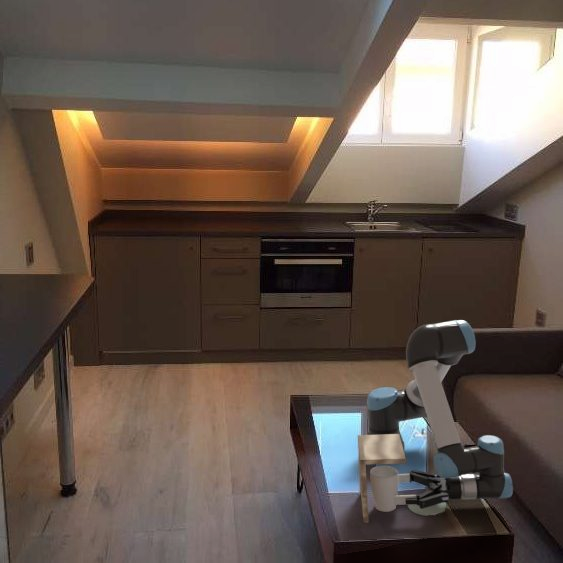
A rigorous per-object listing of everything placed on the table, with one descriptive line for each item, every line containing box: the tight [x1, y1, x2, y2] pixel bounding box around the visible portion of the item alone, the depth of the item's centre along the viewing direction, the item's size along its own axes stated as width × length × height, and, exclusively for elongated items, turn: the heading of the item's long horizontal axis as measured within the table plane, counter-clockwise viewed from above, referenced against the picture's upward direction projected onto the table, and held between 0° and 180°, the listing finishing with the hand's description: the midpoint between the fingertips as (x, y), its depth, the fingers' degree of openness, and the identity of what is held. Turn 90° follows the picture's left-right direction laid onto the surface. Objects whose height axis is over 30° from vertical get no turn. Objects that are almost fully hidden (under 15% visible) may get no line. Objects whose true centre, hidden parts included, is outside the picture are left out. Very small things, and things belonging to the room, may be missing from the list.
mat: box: [407, 502, 447, 517], centre depth 197 cm, size 12×12×1 cm
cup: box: [369, 464, 400, 513], centre depth 197 cm, size 9×9×12 cm
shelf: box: [357, 434, 407, 524], centre depth 197 cm, size 14×18×20 cm
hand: (391, 489), depth 197 cm, fingers open, 13 cm apart
